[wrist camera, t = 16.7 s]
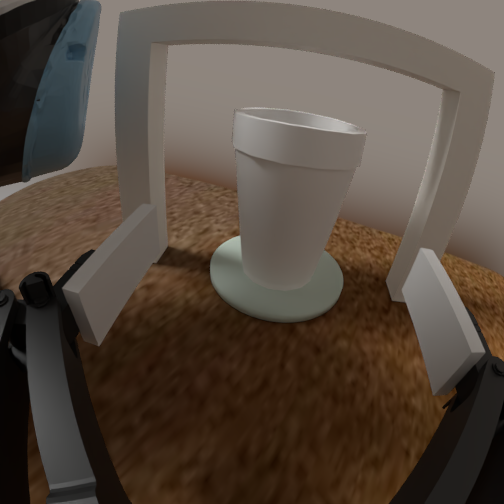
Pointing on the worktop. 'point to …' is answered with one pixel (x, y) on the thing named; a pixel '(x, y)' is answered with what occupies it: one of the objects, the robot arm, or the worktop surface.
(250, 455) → the worktop surface
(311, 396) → the worktop surface
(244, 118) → the foam cup
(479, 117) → the keeper arch
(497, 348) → the worktop surface
